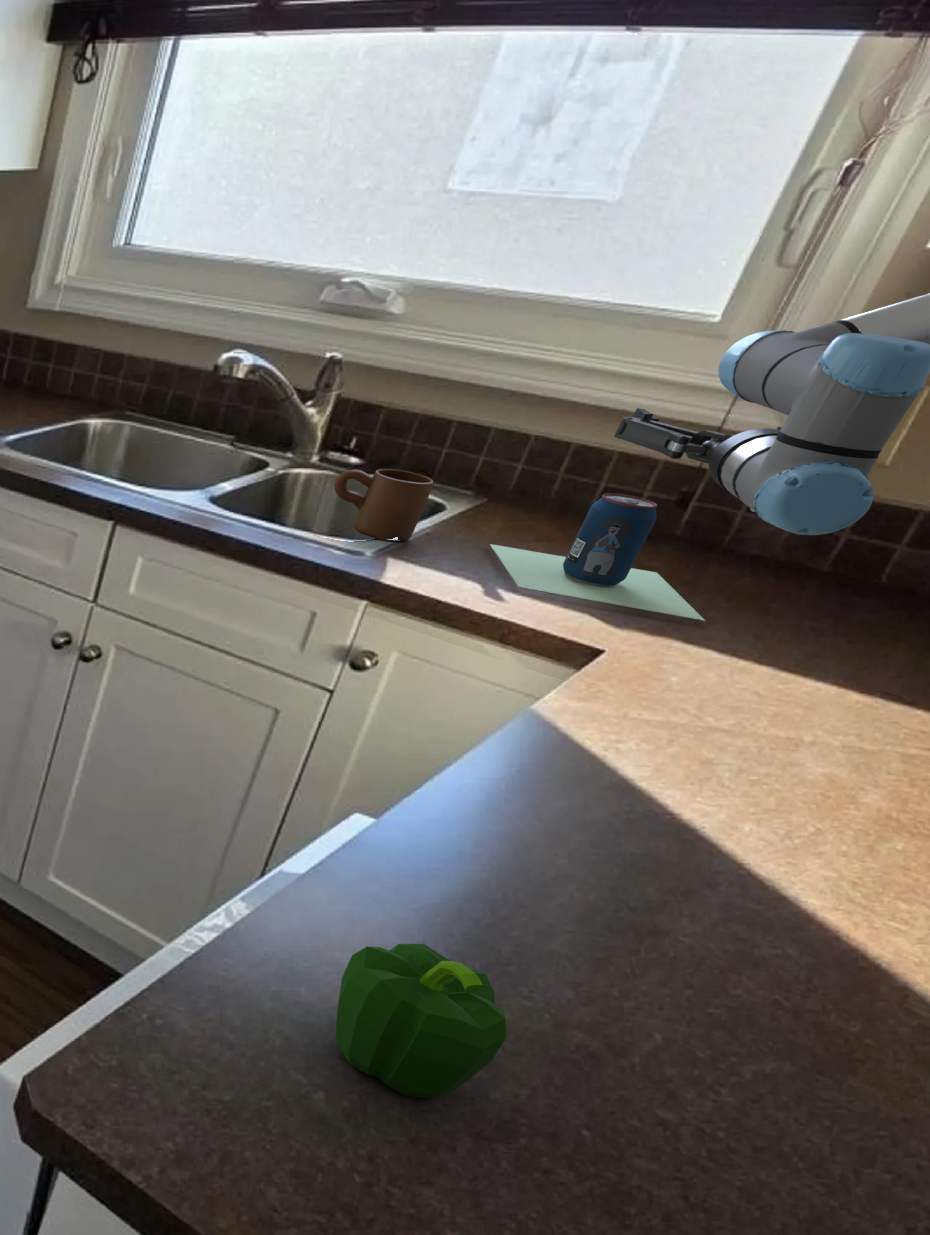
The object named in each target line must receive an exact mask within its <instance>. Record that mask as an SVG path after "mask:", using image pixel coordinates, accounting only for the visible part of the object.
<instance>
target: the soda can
mask: <svg viewBox="0 0 930 1235" xmlns="http://www.w3.org/2000/svg"><path fill="white" fill-rule="evenodd" d="M657 507H658V504H657V503H656V502H654V501H653V500H650V499H646V498H643V497H640V496H635V495H631V494H626V493H625V494H624V493H616V492H606V493H603V494H602V497H601V498H599V499H598V500H597V501H595V502H594V503H592V505H591V506H590V508H589V510H588V512H587V514H586V517H585V518H584V520H583V522H582V524H581V526H580V529H579V530H578V533H577V534H576V537H575V538H574V540H573V542H572V544H571V547H570V549H569V551H568V553H567V555H566V556H565V557H566V559H565V561H564V563H563V568H564V572H565V575H566V576H567V577H569V578H571V579H573V580H575V581H578V582H581V583H585V584H589V585H594V586H600V587H613V586H615V585H617V584H619V583H620V582H622V581H623V580H625V579H626V577H627V575H628V573H629V571H630V569H631V568H633V565H634V564H635V561H636V560H637V558H638V555H640V554H639V553H640V552H641V550H642V548H643V546H644V545H645V543H646V540H647V538H648V536H649V535H650V532H651V531H652V529H653V527H654V525H655V523H656V521H657V519H658V517H657V516H658V515H657Z"/></svg>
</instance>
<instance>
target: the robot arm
mask: <svg viewBox="0 0 930 1235" xmlns="http://www.w3.org/2000/svg"><path fill="white" fill-rule="evenodd" d="M929 375H930V292H929V293H925V294H923V295H919V296H916V297H912V298H909V299H906V300H902V301H899V302H897V303H892V304H889V305H886V306H882V307H879V308H876V309H873V310H869V311H866V312H862V313H859V314H856V315H853V316H849V317H846V318H843V319H839V320H835V321H832V322H828V323H823V324H821V325H817V326H814V327H811V328H807V329H804V330H803V329H802V330H800V331H797V332H796V331H793V330H785V329H783V330H776V329H775V330H763V331H759V332H755V333H752V334H749V335H747V336H745V337H743V338H741V339H739V340H738V341H736V342H735V343H734V344H733V345H731V346H730V348H728V349H727V350H726V352H725V353H724V354H723V356H722V357H721V359H720V361H719V365H718V375H717V376H718V378H719V381H720V383H721V384H722V386H723V387H724V388H725V389H726V390H727V391H729V392H730V393H732V394H734V395H736V396H737V397H739V399H741V400H743V401H745V402H748V403H753V404H757V405H759V406H762V407H765V408H768V409H771V410H773V411H776V412H779V413H781V414H783V415H786V416H787V417H786V419H785V421H784V423H783V424H782V426H777V428H766V427H765V428H764V427H763V428H762V427H761V428H753V429H749V430H744V431H742V432H739V433H737V434H726V433H722V432H718V431H714V430H700V431H696V430H692V429H688V428H684V427H680V426H676V425H673V424H668V423H664V422H661V421H660V418H659V417H657V416H655V415H654V413H651V412H650V411H648V410H647V409H645V408H640V407H637V408H636V409H635V411H634V413H633V415H632V417H631V416H624V417H622V419H621V421H620V423H619V426H618V427H617V430H616V432H615V433H614V436H613V437H614V438H617V439H619V440H624V441H626V442H628V443H631V444H635V445H638V446H641V447H643V448H646V449H649V450H651V451H656V452H657V453H661V454H662V455H665V456H666V457H668V458H670V459H673V460H679V459H680V460H681V459H682V457H683V456H684V454H686V457H687V459H689V460H693V461H697V462H701V463H704V464H707V465H708V470H709V474H710V476H711V478H712V479H713V481H714V482H715V484H717V485H718V486H719V487H721V488H722V489H723V490H724V491H726V492H728V493H729V494H731V495H733V496H734V497H736V499H739V500H740V501H741V502H742V503H743V504H744V505H746V507H748V508H749V509H750V511H751V512H753V513H756V515H757V517H759V518H760V519H761V520H762V521H763V522H766V523H767V524H769V525H772V526H774V527H776V528H779V529H781V530H783V531H786V532H788V533H792V534H796V535H803V536H820V535H826V534H831V533H835V532H838V531H841V530H843V529H846V528H848V527H850V526H851V525H853V524H855V523H857V521H859V520H860V519H861V518H863V517H864V516H865V515H866V514H867V512H868V511H869V510H870V508H871V506H872V503H873V502H874V489H873V485H872V484H871V481H870V479H869V478H868V475H869V473H871V471H872V469H873V467H874V466H875V464H876V462H877V460H878V459H879V455H880V454H881V453H882V451H883V448H884V447H885V445H886V443H887V442H888V441H889V439H890V438H891V436H892V434H893V433H894V432H895V430H896V428H898V426H899V424H900V422H901V421H902V419H903V418H904V416H905V415H906V414H907V412H908V411H909V409H910V408H911V406H912V405H913V403H914V401H915V400H916V398H917V397H918V395H919V394H920V393H922V391H923V390H924V388H925V386H926V383H927V381H926V380H927V379H928V377H929Z"/></svg>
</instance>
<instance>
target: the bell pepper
mask: <svg viewBox="0 0 930 1235" xmlns="http://www.w3.org/2000/svg"><path fill="white" fill-rule="evenodd" d="M495 998H496V997H495V990H494V988H493V986H492V984H491V982H490V979H489V977H488V975H487V973H485V972H482V971H479V970H476V969H473V968H471V967H468V966H466V965H465V964H464V963H462V962H457V961H451V960H450V959H448V958H447V957H445V956H444V955H442V954H441V953H440V952H438V951H436V950H434V949H433V948H431V947H430V946H428V945H426V944H425V943H397V944H396V945H395V946H394V947H392V948H391V949H390V950H389V949H386V948H383V947H381V946H364V947H363V948H361V949H360V950H358V951H356V952H355V953H354V954H352V955H351V957H350V959H349V961H348V963H347V966H346V968H345V970H344V972H343V975H342V977H341V983H340V988H339V993H338V1000H337V1001H338V1002H337V1009H336V1010H337V1011H336V1021H335V1022H336V1023H335V1024H336V1025H335V1027H336V1028H335V1040H336V1043H337V1045H338V1047H339V1050H340V1051H341V1053H342V1054H343V1056H344V1057H345V1059H346V1061H347V1062H348V1064H349V1065H350V1066H352V1067H354V1068H355V1069H357V1070H358V1071H360V1072H362V1073H364V1074H366V1075H368V1076H373V1077H376V1078H379V1079H380V1080H381V1081H382V1083H383V1084H385V1086H387V1087H389V1088H391V1089H392V1090H395V1091H397V1092H398V1093H400V1094H401V1095H404V1096H407V1097H413V1098H421V1099H431V1098H436V1097H437V1098H438V1097H441V1096H443V1095H446V1094H449V1093H452V1092H454V1091H456V1090H457V1089H459V1087H461V1086H463V1085H464V1084H465V1083H467V1082H468V1081H469V1080H470V1079H472V1078H473V1077H474V1076H476V1075H477V1074H478V1073H479V1072H480V1071H481V1070H483V1068H485V1067H486V1066H488V1064H489V1063H490V1062H492V1061H493V1060H494V1058H495V1056H496V1055H497V1053H498V1052H499V1050H500V1048H501V1047H502V1046H503V1044H504V1042H505V1040H506V1039H507V1022H506V1013H505V1008H503V1007H502V1006H500V1005H498V1004H496V1002H495V1001H496V999H495Z"/></svg>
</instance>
